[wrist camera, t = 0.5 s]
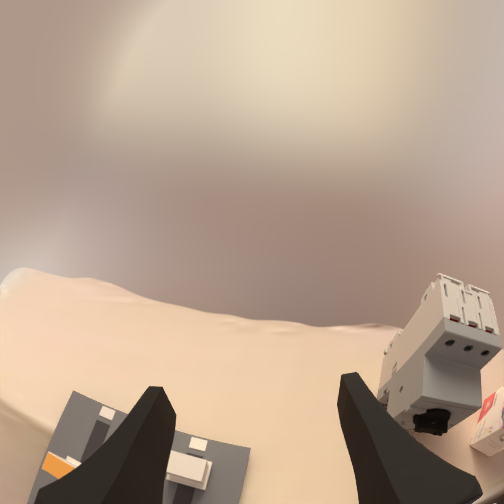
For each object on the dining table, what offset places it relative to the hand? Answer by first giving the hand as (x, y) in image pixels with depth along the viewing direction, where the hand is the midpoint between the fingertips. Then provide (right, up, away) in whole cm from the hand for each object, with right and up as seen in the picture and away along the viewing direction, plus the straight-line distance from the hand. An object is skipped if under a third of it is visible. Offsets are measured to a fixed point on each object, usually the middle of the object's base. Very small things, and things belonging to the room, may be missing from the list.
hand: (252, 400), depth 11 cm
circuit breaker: (+19, -13, +19) cm, 30 cm away
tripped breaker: (-16, -16, +7) cm, 24 cm away
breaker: (-6, -14, +10) cm, 19 cm away
